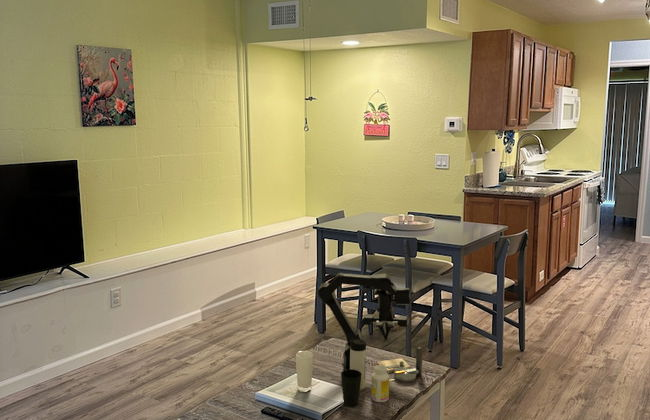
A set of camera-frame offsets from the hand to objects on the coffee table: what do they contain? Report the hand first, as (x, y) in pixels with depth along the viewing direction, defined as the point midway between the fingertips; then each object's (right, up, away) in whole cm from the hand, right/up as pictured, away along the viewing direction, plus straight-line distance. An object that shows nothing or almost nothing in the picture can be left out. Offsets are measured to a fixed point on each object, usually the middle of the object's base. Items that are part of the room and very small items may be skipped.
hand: (386, 339), depth 252 cm
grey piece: (+9, -14, -6) cm, 18 cm away
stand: (+4, -12, +4) cm, 13 cm away
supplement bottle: (-5, -18, -24) cm, 30 cm away
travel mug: (-13, -16, -15) cm, 26 cm away
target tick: (+1, -15, -9) cm, 17 cm away
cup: (-16, -18, -28) cm, 37 cm away
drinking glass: (-34, -16, -17) cm, 42 cm away
